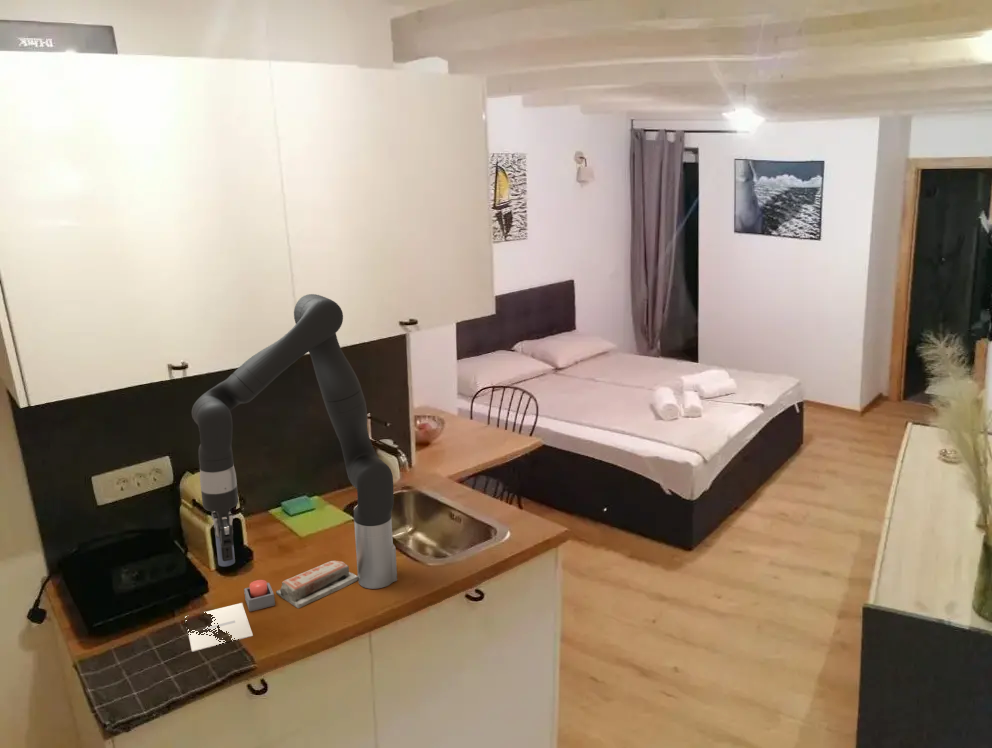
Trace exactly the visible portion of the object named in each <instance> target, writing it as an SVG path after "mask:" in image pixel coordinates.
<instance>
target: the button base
mask: <svg viewBox="0 0 992 748" xmlns="http://www.w3.org/2000/svg"><path fill="white" fill-rule="evenodd" d="M243 590H244V591H243V592H244V593H243V594H244V599H245V602H246V605H247V609H248V612H249V613H250V612H253V611H259V610H262V609H265V608H269V607H274V606H276V602H275V594H274V591H273V589H272V586H271V583H270V582H267V590H268V595H264V596H259V597H255V598H251V595H250V586H249V587H246V588H243Z"/></svg>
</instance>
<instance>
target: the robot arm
mask: <svg viewBox="0 0 992 748" xmlns="http://www.w3.org/2000/svg"><path fill="white" fill-rule="evenodd" d="M293 317H294V318H293V319H294V322H295V325H294V326H293V327H292V328H291V329H290V330H289V331H288V332H287V333H286V334H284V335H283V336H282V337H280V338H279V339H277V340H276V341H275V342H273V343H271V344H270V345H268V346H266V347H265V348H263V349H261V350H260V351H258V352H257V353H255V354H254V355H252V356H251V357H249V358H248V359H247V360H246V361H245V362H244V363H242V364H241V365H240V366H239V367H238V368H236V369H235V370H234V371H233V372H232V373H231V374H230V375H228V377H227V378H226V379H225V380H223V381H221V382H219V383H218V384H216V385H214V386H213V387H212V388H210V389H209V390H207V391H205V392H204V393H203V394H201V396H200V397H198V398H197V400H196V401H195V402H194V404H193V405H192V409H191V417H192V419H193V421H194V423H195V424H196V425H197V427H198V431H199V441H200V444H199V446H198V453H197V455H198V461H199V462H198V464H199V481H200V482H199V483H200V492H201V501H202V507H203V509H204V510H205V511H208V512H211V519H212V520H213V528H214V527H215V526H216V534H217V536H218V537H219V538H220V546H221V552H222V560H223V561H229V560H232V559H233V554H232V545H233V546H234V544H235V543H234V542H235V541H234V530H233V529H234V526H233V513H231V512H232V511H231V509H232V508H235V507H236V506H237V505H238V504H239V494H238V493H239V492H238V484H237V483H238V481H237V472H236V469H235V466H234V465H235V463H234V454H233V447H232V443H233V442H232V441H233V427H234V426H233V423H234V422H233V418H232V417H233V416H232V413H231V412H232V410H233V409H235V408H236V407H237V406H239V405H241V404H248V403H250V402H251V401H253V399H255V398H256V397H257V396H259V394H260V393H261V392H262V391H264V390H265V389H266V388H267V387H268V386H269V385H270V384H271V383H272V382H273V381H275V379H276V378H278V377H279V376H280V375H281V374H282V373H283V372H285V371H286V370H287V369H288V368H289V367H290V366H291V365H293V364H294V363H295V362H297V361H298V360H299V359H302V357H303V356H305V355H307V353H309V356H310V359H311V362H312V366H313V370H314V373H315V377H316V380H317V382H318V386H319V389H320V393H321V397H322V400H323V402H324V406H325V409H326V412H327V415H328V416H329V419H330V422H331V425H332V427H333V430H334V431H335V434H336V436H337V438H338V441H339V444H340V447H341V451H342V456H343V460H344V464H345V470H346V473H347V474H346V475H347V477H348V481H349V482H350V484H351V485H352V486H353V487H354V488H355V489H356V491H357V506H355V507H354V509H353V523H354V537H355V538H354V540H355V552H356V569H357V576H358V581H357V583H358V585H360V586H361V587H362V588H365V589H371V590H372V589H373V590H375V589H382V588H385V587H388V586H390V585H391V584H393V582H397V581H398V572H397V571H398V569H397V552H396V551H397V550H396V545H395V544H394V543H393V523H392V511H393V509H394V502H395V501H394V500H395V499H394V498H395V497H394V476H393V472H392V469H391V468H390V467H389V465H388V464H387V463H386V462H384V461H383V460H382V459H381V458H380V457H379V456H378V455H377V452H376V450H375V448H374V446H373V443H372V440H371V438H370V435H369V432H368V431H369V430H368V409H367V402H366V398H365V395H364V393H363V390H362V387H361V383H360V381H359V378H358V377H357V374H356V372H355V371H354V368H353V367H352V365H351V364H350V362H349V360H348V358H347V357H346V356H345V354H344V352H343V350H342V347H341V346H340V343H339V339H338V337H337V332H338V331H339V330H340V329H341V327H342V325H343V321H344V314H343V310H342V308H341V307H340V305H339V304H338V303H337V302H336V301H334V300H332V299H330V298H329V297H326V296H323V295H320V294H314V293H311V294H306V295H303V296H301V297H300V298H299V299H298V300H297V301H296V303H295V306H294V309H293ZM219 530H220V532H219ZM224 540H225V541H224Z"/></svg>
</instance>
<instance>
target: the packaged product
mask: <svg viewBox="0 0 992 748" xmlns="http://www.w3.org/2000/svg"><path fill="white" fill-rule="evenodd" d="M356 582H358V575H356V574H355V573H353V572H350V566H349V565H348V564H346V563H345V562H344V561H341V560H330V561H327V562H325V563H323V564H321V565H318V566H316V567H315V566H314V568H311V569H309V570H306V571H304V572H301V573H299V574H296V575H295V576H292V577H290V578H287V579H284V580H283V581H282V582H281V587H280V589H278V590H276V591H275V592H276V595H277V596H279V597H280V598H282V599H283V600H284V601H286V602H287V603H289V604H291V605H292V606H294V607H295V608H296V609H300V608H303V607H304V606H307V605H309V604H312V603H313V602H316V601H317V600H320V599H322V598H324V597H326V596H328V595H331V594H334V593H335V592H337V591H339V590H342V589H344V588H345V587H348V586H349V585H351V584H354V583H356Z"/></svg>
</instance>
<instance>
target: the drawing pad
mask: <svg viewBox="0 0 992 748" xmlns="http://www.w3.org/2000/svg"><path fill="white" fill-rule="evenodd" d="M203 612H204V613H205V612H206V613H207V614H211V615H213V616H212V617H215V618H213V619H212V621H213V622H212V623H211V625H212V626H210V627H208V626H207V627H206V628H205V629H207V628H208V629H211V630H213V629H215V628H216V629H215V630H217V631H216V632H218V628H217V626H218V625H219V627H220V628H219V629H220V630H222V631H223V632H225V633H226V631H227V633H228V632H229V633H228V634H230V635H232V638H231V640H232V639H233V640H236V641H240V640H243V639H247V638H251V637H253V636H254V635H253V631H252V629H251V626H250V622H249V620H248V617H247V614H246V611H245V608H244V603H243V602H239V603H236V604H232V605H231V604H230V605H228V606H223V607H219V608H215V609H211V610H207V611H203ZM187 616H188V615H186V616H184V619H185V618H186V617H187ZM212 617H211V618H212ZM215 619H216V620H215ZM214 620H215V621H214ZM186 621H187V620H185V622H186ZM214 623H215V624H214ZM217 623H218V624H217ZM205 629H203V630H205ZM208 629H207V630H208ZM211 630H210V631H211ZM215 630H213V631H215ZM188 631H189V629H188V630H187V633H188ZM192 631H195V630H192ZM192 631H191V632H192ZM213 631H212V632H213ZM196 632H198V631H195V632H194V633H190V632H189V633H188V634H189V635H188V634H187V635H188V639H189V644H190V649H191V652H192V653H194V652H198V651H200V650H205V649H209V648H212V647H216V645H217V646H220V645H219V644H221V645H223V644H222V643H224V644H226V643H225V642H226V641H225V640H219V638H218V639H217V637H216V638H215V636H213V635H214V634H213V633H212V632H209V631H208V632H207V633H206V632H203V633H201V634H204V633H205V634H204V635H201V634H200V635H198V634H199V632H198V633H197V634H196ZM216 632H215V633H216ZM190 634H191V635H190ZM206 634H208V635H206ZM211 634H212V635H211ZM217 634H218V633H217ZM209 635H211V636H209ZM230 635H229V636H230ZM234 638H235V639H234ZM216 639H217V640H216ZM222 639H223V638H222ZM238 639H239V640H238ZM218 640H219V641H221V642H219V641H218ZM233 640H232V642H234V641H233ZM223 641H225V642H223Z"/></svg>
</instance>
